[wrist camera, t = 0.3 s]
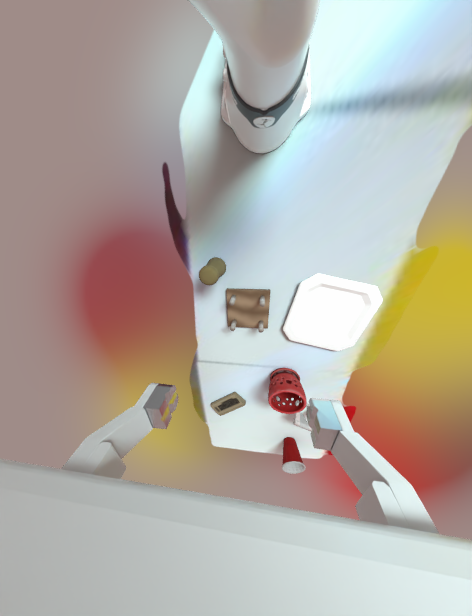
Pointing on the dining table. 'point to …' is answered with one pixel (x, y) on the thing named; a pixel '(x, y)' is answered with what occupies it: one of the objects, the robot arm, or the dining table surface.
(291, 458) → the plastic cup
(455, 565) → the robot arm
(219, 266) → the olive gourd
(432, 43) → the dining table surface
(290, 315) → the plate
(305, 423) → the portable electronic device stand
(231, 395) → the computer
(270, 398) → the plant pot
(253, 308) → the standoff base
